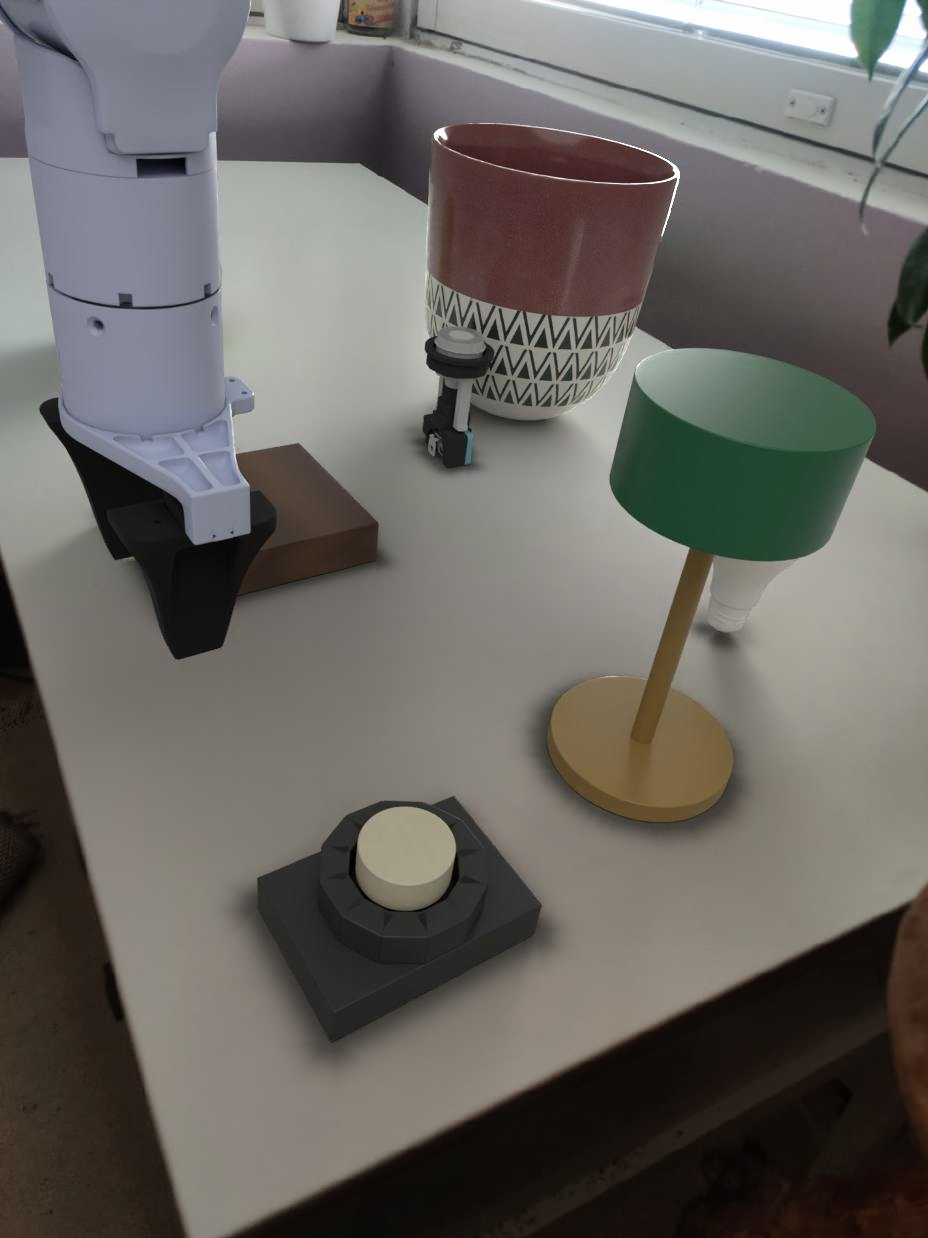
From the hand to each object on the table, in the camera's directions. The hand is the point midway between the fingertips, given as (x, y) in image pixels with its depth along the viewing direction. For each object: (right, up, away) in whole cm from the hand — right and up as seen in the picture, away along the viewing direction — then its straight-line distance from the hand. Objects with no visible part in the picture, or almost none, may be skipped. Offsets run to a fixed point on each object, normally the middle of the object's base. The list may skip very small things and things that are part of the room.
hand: (163, 597), depth 40 cm
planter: (+17, +18, +45) cm, 52 cm away
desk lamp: (+22, -8, +11) cm, 26 cm away
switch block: (+10, -14, +1) cm, 17 cm away
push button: (+11, +13, +37) cm, 41 cm away
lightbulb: (+30, -2, +21) cm, 37 cm away
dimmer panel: (-2, +4, +22) cm, 22 cm away
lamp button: (+10, -11, -1) cm, 16 cm away
